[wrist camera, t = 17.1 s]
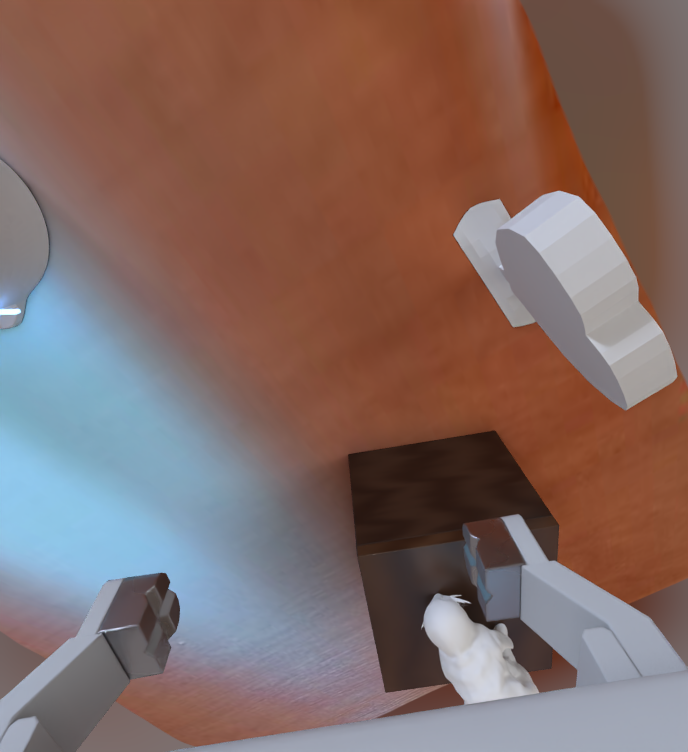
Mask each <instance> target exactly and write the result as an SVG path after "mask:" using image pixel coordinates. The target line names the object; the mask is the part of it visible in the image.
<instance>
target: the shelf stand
mask: <svg viewBox="0 0 688 752" xmlns="http://www.w3.org/2000/svg"><path fill="white" fill-rule="evenodd" d="M348 457H349V468H350V479H351V490H352V501H353V512H354V524H355V535H356V546H357V557H358V562H359V567H360V571H361V576H362V581H363V586H364V591H365V596H366V601H367V605H368V610H369V615H370V620H371V625H372V630H373V634H374V639H375V644H376V649H377V654H378V659H379V664H380V668H381V673H382V678H383V683H384V688H385V692H386V693H387V692H394V691H401V690H408V689H415V688H421V687H428V686H435V685H442V684H449V683H451V682H450V681H449V680H448V679H447V678H446V677H445V675H444V673H443V670H442V667H441V662H440V656H439V648H438V647H437V646H436V645H435V644H434V643H433V642H432V641H431V640H430V639H429V637H428V635H427V633H426V631H425V627H424V626H423V627H422V624H423V621H424V614H425V611H426V608H427V607H428V605H429V604H430V602H431V601H432V599H433V597H434V595H435V594H437V593H439V594H441V595H446V596H451V595H462V596H457V597H456V598H459V599H462V600H465V601H468V602H470V603H466V602H465V603H461V602H460V603H459V602H457V603H459V605H460V604H461V605H460V606H461V607H462V608H463V609H464V610H465V612H466V613H467V615H468V617H469V619H470V620H471V621H472V622H474V623H478V624H482V625H484V626H485V627H487V628H488V629H490V630H493V629H494V627H495V626H496V625H497V624H499V623H502V624H504V625H505V626H506V628H507V632H508V637H509V638H510V639H511V640H512V642H513V646H514V647H513V649H511V651H512V653H513V655H514V657H515V660H516V663H518V664H520V665H521V666H522V667H523V668H524V669H525V670H526V671H527V672H531V671H537V670H544V669H551V667H552V650H553V648H552V647H551V646H550V645H549V644H548V643H547V642H546V641H544V640H543V639H542V638H541V637H540V636H539V635H538V634H537V633H535V632H534V631H533V630H532V629H531V628H530V627H529V626H528V625H526V624H525V623H524V622H523V621H522V620H521V619H520V618H512V619H504V620H497V621H489V622H487V621H486V618H485V616H484V613H483V611H482V608H481V606H480V603H479V601H478V595H477V587H476V586H475V585H473V584H472V582H471V580H470V577H469V574H468V571H467V567H466V562H465V557H464V546H465V544H466V541H465V539H464V536H463V524H464V523H469V522H475V521H481V520H487V519H493V518H500V517H504V516H510V515H516V514H519V515H520V516H522V518H523V519H524V521H525V523H526V524H527V526H528V528H529V529H530V531H531V533H532V534H533V536H534V537H535V539H536V541H537V542H538V544H539V546H540V547H541V549H542V551H543V552H544V554H545V555H546V557H547V559H548V560H549V561H556V562H557V555H558V536H559V525H558V523H557V522H556V520H555V519H554V517H553V516H552V514H551V513H550V511H549V510H548V508H547V507H546V505H545V504H544V502H543V501H542V499H541V498H540V496H539V495H538V494H537V492H536V491H535V489H534V488H533V486H532V485H531V483H530V482H529V480H528V479H527V477H526V476H525V474H524V473H523V471H522V470H521V468H520V467H519V465H518V464H517V462H516V461H515V459H514V458H513V456H512V455H511V454H510V452H509V451H508V449H507V448H506V446H505V445H504V443H503V442H502V440H501V439H500V437H499V436H498V434H497V433H496V431H490V432H484V433H478V434H472V435H466V436H460V437H453V438H447V439H441V440H435V441H429V442H423V443H417V444H410V445H404V446H398V447H392V448H386V449H380V450H373V451H367V452H361V453H355V454H349V455H348ZM471 603H472V604H471ZM421 628H422V630H421Z"/></svg>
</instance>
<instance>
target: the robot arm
mask: <svg viewBox="0 0 688 752" xmlns="http://www.w3.org/2000/svg"><path fill="white" fill-rule="evenodd" d="M48 256H49V239H48V232H47V228H46V224H45V221H44V217H43V215H42V212H41V210H40V208H39V206H38V204H37V202H36V200H35V198H34V197H33V195H32V193H31V192H30V190H29V189H28V187H27V186H26V185H25V183H24V182H23V181H22V180H21V179H20V177H19V176H18V175H17V174H16V173H15V172H14V171H13V170H12V169H11V168H10V167H9V166H8V165H7V164H6V163H4V162H3V161H2V160H1V159H0V329H8V328H12V327H15V326H18V325H19V324H20V323H21V322H22V319H23V316H24V312H25V306H26V300H27V298H28V296H29V294H30V293H31V292H32V290H33V289H34V288H35V287H36V285H37V284H38V283H39V281H40V280H41V278H42V276H43V274H44V272H45V269H46V266H47V262H48ZM463 536H464V539H465V541H466V544H465V546H464V557H465V562H466V567H467V571H468V574H469V577H470V580H471V582H472V584H473V585H475V586H476V587H477V595H478V601H479V603H480V606H481V608H482V611H483V613H484V616H485V618H486V621H487V622H489V621H497V620H504V619H512V618H520V619H521V620H522V621H523V622H524V623H525V624H526V625H528V626H529V627H530V628H531V629H532V630H533V631H534V632H535V633H537V634H538V635H539V636H540V637H541V638H542V639H543V640H544V641H546V642H547V643H548V644H549V645H550V646H551V647H552V648H553V649H555V650H556V651H557V652H558V653H559V654H560V655H561V656H562V657H564V658H565V659H566V660H567V661H568V662H569V663H570V664H571V665H573V666H574V667H575V668H576V669H577V670H578V673H577V682H576V687H575V688H569V689H562V690H556V691H549V692H544V693H537V694H530V695H524V696H517V697H511V698H505V699H498V700H492V701H486V702H479V703H473V704H466V705H460V706H454V707H447V708H441V709H435V710H428V711H422V712H416V713H410V714H403V715H397V716H391V717H384V718H378V719H372V720H365V721H359V722H353V723H346V724H340V725H334V726H327V727H321V728H315V729H308V730H302V731H295V732H289V733H283V734H276V735H270V736H263V737H257V738H251V739H244V740H238V741H231V742H225V743H219V744H212V745H206V746H199V747H193V748H187V749H181V750H174V751H168V752H688V667H687V666H686V665H685V663H684V662H683V661H682V659H681V658H680V657H679V655H678V654H677V653H676V651H675V650H674V649H673V647H672V646H671V645H670V644H669V642H668V641H667V640H666V638H665V637H664V636H663V634H662V633H661V632H660V630H659V629H658V628H657V626H656V625H655V624H654V622H653V621H652V620H651V618H650V617H648V616H646V615H645V614H643V613H641V612H640V611H638V610H636V609H635V608H633V607H631V606H630V605H628V604H626V603H625V602H623V601H621V600H620V599H618V598H616V597H615V596H613V595H611V594H610V593H608V592H606V591H605V590H603V589H601V588H600V587H598V586H596V585H595V584H593V583H591V582H590V581H588V580H586V579H585V578H583V577H581V576H580V575H578V574H576V573H575V572H573V571H571V570H570V569H568V568H566V567H565V566H563V565H561V564H560V563H558V562H556V561H549V560H548V559H547V557H546V555H545V554H544V552H543V551H542V549H541V547H540V546H539V544H538V542H537V541H536V539H535V537H534V536H533V534H532V533H531V531H530V529H529V528H528V526H527V524H526V523H525V521H524V519H523V518H522V516H520V515H519V514H516V515H510V516H504V517H500V518H493V519H487V520H481V521H475V522H469V523H464V524H463ZM169 584H170V580H169V578H168V577H167V575H166V573H156V574H149V575H142V576H134V577H127V578H122V579H115V580H108V581H107V582H106V583H105V584H104V585H103V586H102V588H101V590H100V592H99V594H98V596H97V597H96V599H95V601H94V603H93V605H92V607H91V609H90V611H89V613H88V615H87V617H86V618H85V620H84V622H83V624H82V626H81V628H80V630H79V632H78V634H77V636H76V637H74V638H70V639H69V640H67V641H66V642H65V643H64V644H63V645H62V646H61V647H60V648H58V649H57V650H56V651H55V652H54V653H53V654H52V655H51V656H50V657H48V658H47V659H46V660H45V661H44V662H43V663H42V664H41V665H39V666H38V667H37V668H36V669H35V670H34V671H33V672H32V673H31V674H29V675H28V676H27V677H26V678H25V679H24V680H23V681H21V683H19V684H18V685H17V686H16V687H15V688H14V689H12V690H11V691H10V692H9V693H8V694H7V695H6V696H5V697H3V698H2V699H1V700H0V752H76V750H77V749H78V748H79V747H80V746H81V744H82V743H83V742H84V740H85V739H86V738H87V736H88V735H89V734H90V733H91V731H92V730H93V729H94V728H95V726H96V725H97V724H98V722H99V721H100V720H101V718H102V717H103V716H104V715H105V713H106V712H107V711H108V710H109V708H110V707H111V706H112V704H113V703H114V702H115V701H116V699H117V698H118V697H119V695H120V694H121V693H122V692H123V690H124V689H125V688H126V686H127V685H128V684H129V683H130V679H136V678H141V677H146V676H151V675H157V674H162V673H163V672H164V668H165V665H166V662H167V659H168V656H169V652H170V649H171V646H170V644H169V642H168V639H169V638H170V637H171V636H172V635H173V634H174V633H175V632H176V630H177V626H178V623H179V615H180V606H179V601H178V598H177V596H176V593H174V592H172V591H171V590H169V589H168V587H169Z"/></svg>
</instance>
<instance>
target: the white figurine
mask: <svg viewBox="0 0 688 752" xmlns="http://www.w3.org/2000/svg"><path fill="white" fill-rule="evenodd" d="M457 596H462V595H451V596H446V595H441V594H439V593H437V594H435V595H434V597H433V599H432V601H431V602H430V604H429V605H428V607H427V608H426V611H425V614H424V621H423V624H422V627H423V626H424V627H425V631H426V633H427V635H428V637H429V639H430V640H431V641H432V642H433V643H434V644H435V645H436V646H437V647H438V648H439V656H440V662H441V667H442V670H443V673H444V675H445V677H446V678H447V679H448V680H449V681H450V682H451V683H452V684H453V685H454V687H455V689H456V691H457V692H458V694H460V696H461V697H462V698H463V699H464V705H466V704H473V703H479V702H486V701H492V700H498V699H505V698H511V697H517V696H524V695H530V694H537V693H539V691H538V689H537V687H536V685H535V684H534V683H533V681H532V679H531V677H530V675H529V673H528V672H527V671H526V670H525V669H524V668H523V667H522V666H521V665H520V664H518V663H516V660H515V657H514V655H513V653H512V651H511V649H513V647H514V646H513V642H512V640H511V639H510V638H509V637H508V632H507V628H506V626H505V625H504V624H502V623H499V624H497V625H496V626H495V627H494V629H493V630H490V629H488V628H487V627H485V626H484V625H482V624H478V623H474V622H472V621H471V620H470V619H469V617H468V615H467V613H466V612H465V610H464V609H463V608H462V607H461V606H460V605H461V604H460V605H459V603H460V602H461V603H465V602H466V603H470V602H468V601H465V600H462V599H459V598H456V597H457ZM457 602H459V603H457ZM471 604H472V603H471ZM421 630H422V628H421Z"/></svg>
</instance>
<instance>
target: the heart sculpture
mask: <svg viewBox="0 0 688 752" xmlns="http://www.w3.org/2000/svg"><path fill="white" fill-rule="evenodd" d="M454 237H455V239H456V240H457V242H458V243H459V245H460V246H461V248H462V249H463V251H464V252H465V254H466V255H467V257H468V259H469V260H470V262H471V263H472V265H473V266H474V268H475V269H476V271H477V272H478V274H479V275H480V277H481V279H482V280H483V282H484V283H485V285H486V286H487V288H488V289H489V291H490V292H491V294H492V295H493V297H494V299H495V300H496V302H497V303H498V305H499V306H500V308H501V309H502V311H503V312H504V314H505V315H506V317H507V319H508V320H509V322H510V323H511V325H512V326H513V327H518V326H524V325H528V324H531V323H534V322H537V323H538V324H539V326H540V327H541V328H542V329H543V331H544V332H545V333H546V334H547V335H548V337H549V338H550V339H551V340H552V341H553V343H554V344H555V345H556V346H557V347H558V349H559V350H560V351H561V352H562V353H563V355H564V356H565V357H566V358H567V359H568V360H569V361H570V362H571V363H572V364H573V365H574V367H575V368H576V369H577V370H578V371H579V372H580V373H581V374H582V375H583V376H584V377H585V378H586V379H587V380H588V381H589V382H590V383H591V384H592V385H593V386H594V387H596V388H597V389H598V390H599V391H600V392H601V393H602V394H604V395H605V396H606V397H607V398H608V399H609V400H610V401H612V402H613V403H615V404H616V405H618V406H619V407H621V408H623V409H624V410H627V409H629V408H631V407H632V406H634V405H636V404H637V403H639V402H641V401H642V400H644V399H646V398H647V397H649V396H651V395H652V394H654V393H656V392H657V391H659V390H660V389H662V388H664V387H665V386H667V385H669V384H670V383H672V382H673V381H674V380H675V379H676V378H677V372H676V366H675V361H674V358H673V355H672V352H671V349H670V346H669V344H668V342H667V340H666V338H665V335H664V333H663V331H662V330H661V329H660V327H659V326H658V324H657V323H656V322H655V320H654V319H653V318H652V317H651V315H650V314H649V313H648V312H647V311H646V310H645V308H644V307H643V306H642V305H641V304H640V303H639V301H638V290H639V288H638V284H637V279H636V277H635V275H634V273H633V271H632V269H631V267H630V265H629V263H628V261H627V259H626V258H625V256H624V254H623V253H622V251H621V250H620V248H619V246H618V245H617V243H616V242H615V240H614V239H613V237H612V236H611V234H610V233H609V231H608V230H607V229H606V227H605V226H604V224H603V223H602V222H601V220H600V219H599V218H598V216H597V215H596V213H595V212H594V211H593V210H592V209H591V208H590V207H589V206H588V205H587V204H586V203H585V202H584V201H583V200H582V199H581V198H580V197H579V196H575V195H572V194H568V193H565V192H562V191H556V192H552V193H549V194H545V195H542V196H541V197H539V198H538V199H537V200H535V201H534V202H533V203H531V204H530V205H529V206H527V207H526V208H525V209H523V210H522V211H521V212H520V213H518V214H517V215H516V216H514V217H513V218H512V219H511V217H510V216H509V214H508V212H507V211H506V209H505V207H504V205H503V204H502V202H501V200H500V199H498V200H492V201H487V202H483V203H480V204H477V205H475V206H473V207H471V208H470V209H469V210H468V211H467V212H466V214H465V215H464V216H463V218H462V219H461V221H460V223H459V224H458V226H457V228H456V231H455V233H454Z"/></svg>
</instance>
